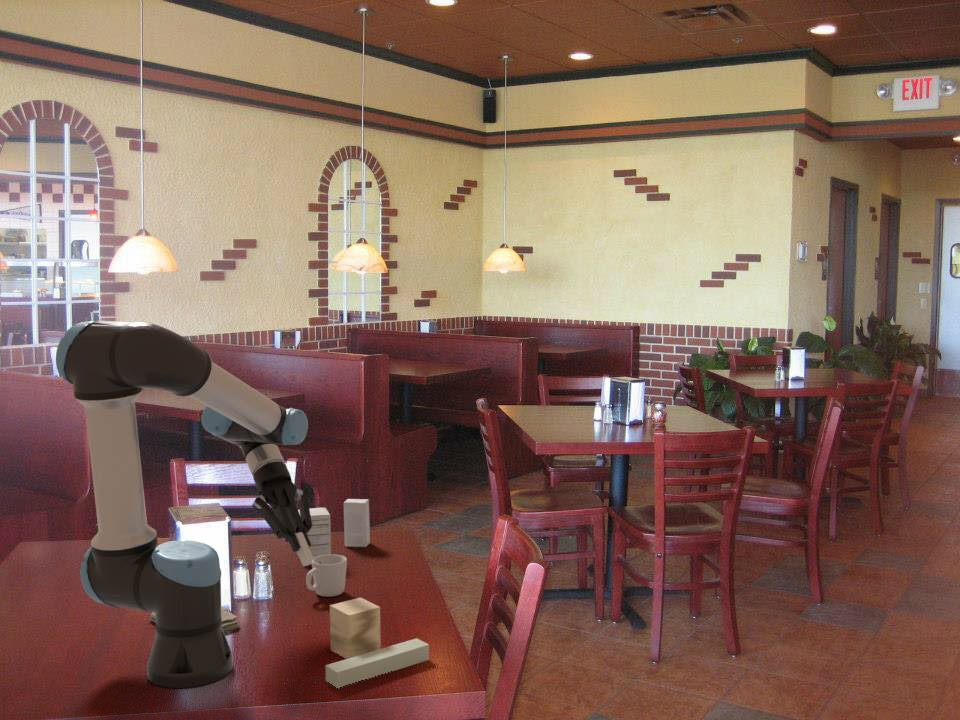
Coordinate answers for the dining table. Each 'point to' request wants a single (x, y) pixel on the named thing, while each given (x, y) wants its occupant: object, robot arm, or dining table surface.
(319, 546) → the supplement box
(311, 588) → the cup
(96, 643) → the dining table surface
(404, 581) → the dining table surface
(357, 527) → the skincare box
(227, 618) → the washcloth
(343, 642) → the block
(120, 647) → the dining table surface
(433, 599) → the dining table surface
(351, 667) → the pale grey bar
